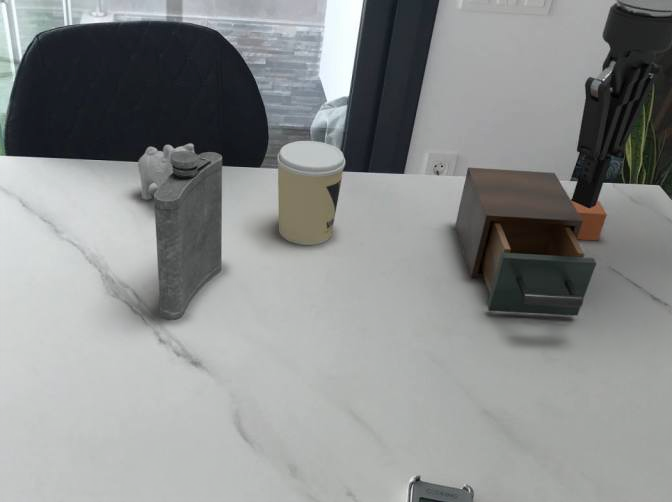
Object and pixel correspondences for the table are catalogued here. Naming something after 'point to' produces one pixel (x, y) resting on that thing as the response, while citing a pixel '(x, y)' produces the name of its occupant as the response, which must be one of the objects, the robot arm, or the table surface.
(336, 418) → the table surface
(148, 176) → the dog figurine
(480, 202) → the cabinet
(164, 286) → the flask
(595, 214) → the block
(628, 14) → the robot arm
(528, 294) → the drawer
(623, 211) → the table surface
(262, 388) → the table surface
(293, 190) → the coffee cup
